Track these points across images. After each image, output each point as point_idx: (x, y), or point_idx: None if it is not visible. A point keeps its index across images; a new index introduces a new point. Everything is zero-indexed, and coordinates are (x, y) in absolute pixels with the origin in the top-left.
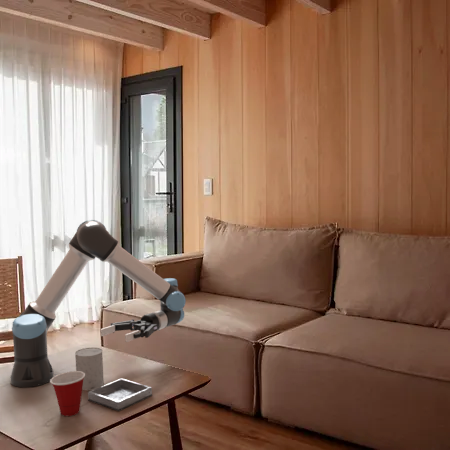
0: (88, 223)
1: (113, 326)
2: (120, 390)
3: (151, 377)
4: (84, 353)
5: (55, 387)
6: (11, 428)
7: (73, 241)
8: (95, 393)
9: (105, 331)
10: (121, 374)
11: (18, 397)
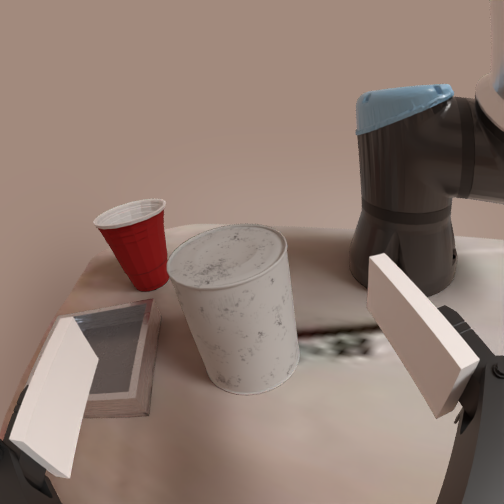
0: None
1: (446, 360)
2: (118, 383)
3: None
4: (229, 243)
5: (139, 210)
6: (191, 228)
7: None
8: (129, 305)
9: (386, 305)
10: (255, 483)
11: (307, 239)
